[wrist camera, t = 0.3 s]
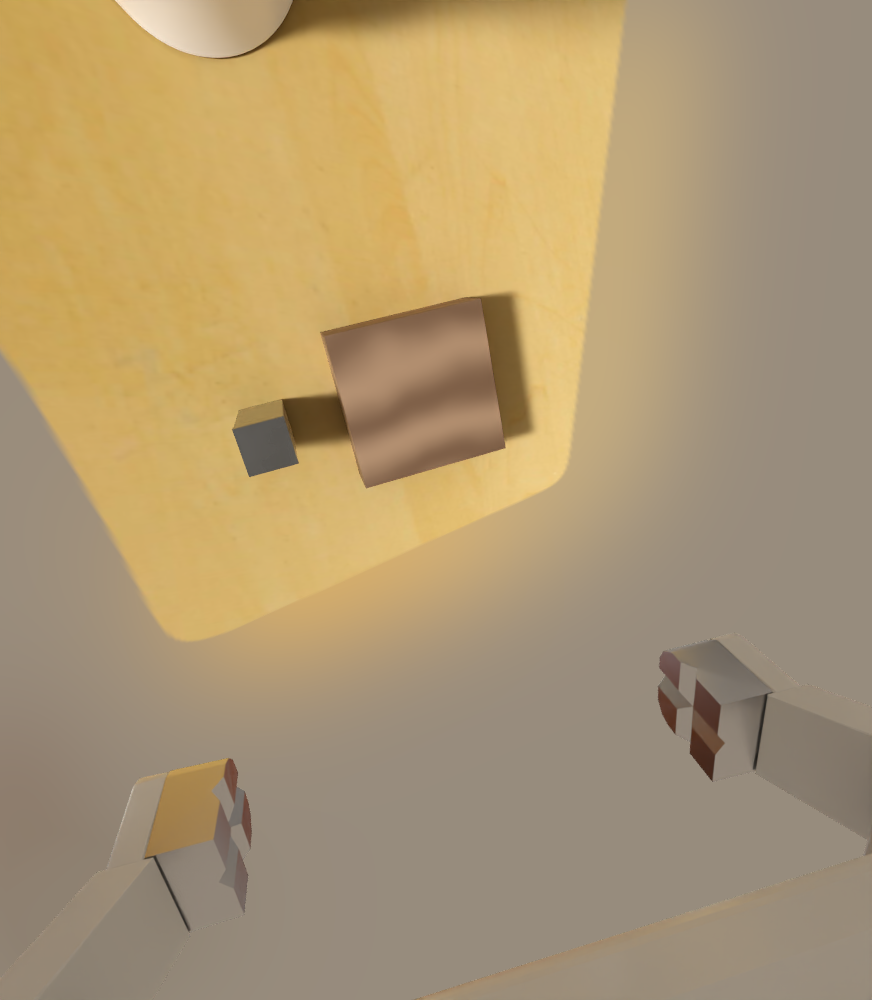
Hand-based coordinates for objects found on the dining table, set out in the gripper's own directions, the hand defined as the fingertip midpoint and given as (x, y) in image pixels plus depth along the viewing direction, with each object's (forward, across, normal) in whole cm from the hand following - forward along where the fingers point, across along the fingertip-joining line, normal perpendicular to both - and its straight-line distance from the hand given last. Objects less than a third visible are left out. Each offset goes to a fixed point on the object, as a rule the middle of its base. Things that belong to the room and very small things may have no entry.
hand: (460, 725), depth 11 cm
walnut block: (+48, -6, +4) cm, 48 cm away
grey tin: (+46, +8, +6) cm, 47 cm away
